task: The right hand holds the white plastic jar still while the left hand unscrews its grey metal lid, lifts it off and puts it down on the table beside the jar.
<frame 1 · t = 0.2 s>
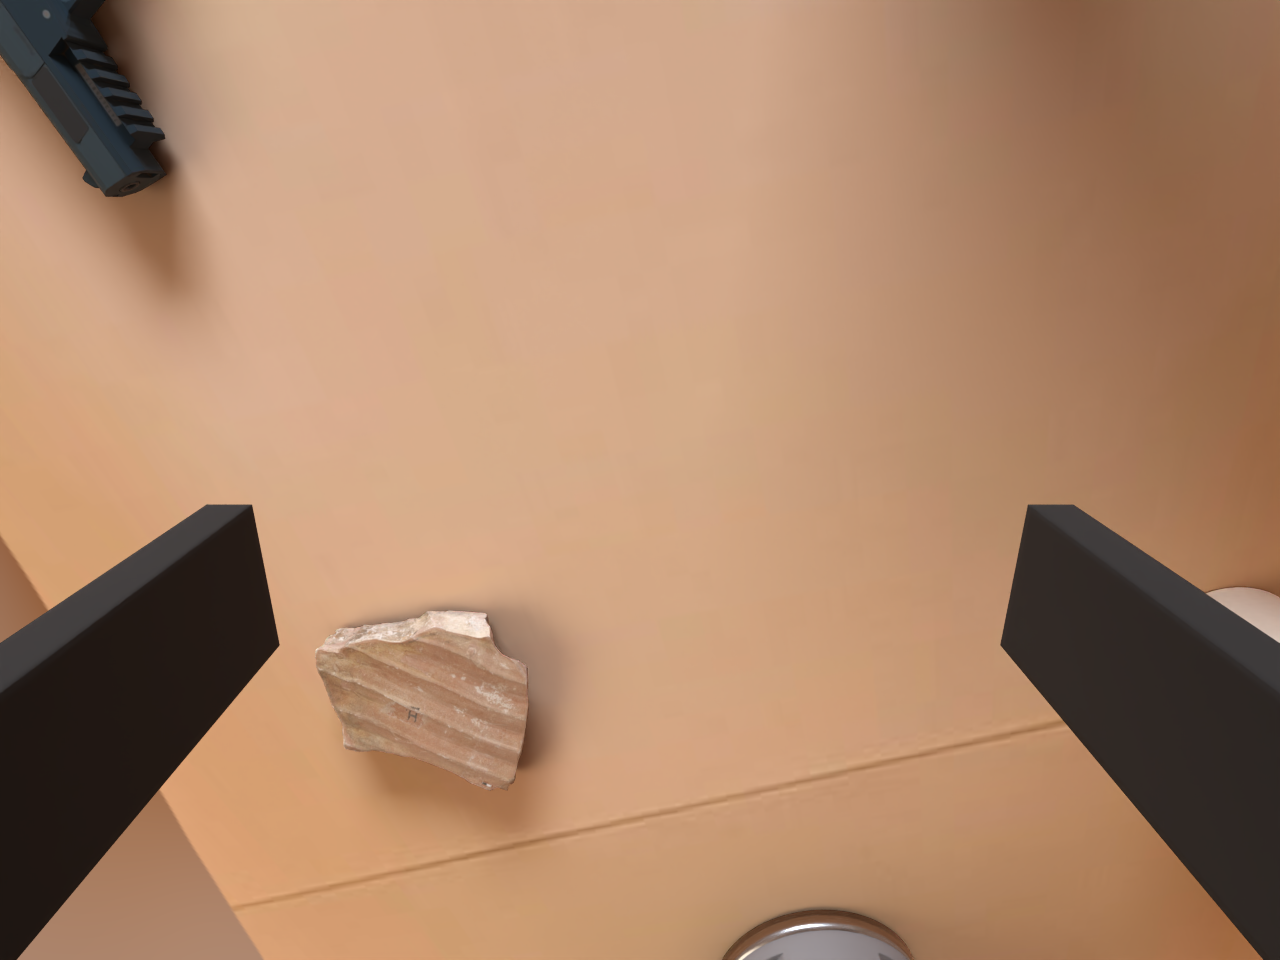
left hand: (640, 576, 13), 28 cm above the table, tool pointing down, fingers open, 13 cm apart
stone: (442, 695, 47), on the table
jar: (1217, 656, 46), on the table
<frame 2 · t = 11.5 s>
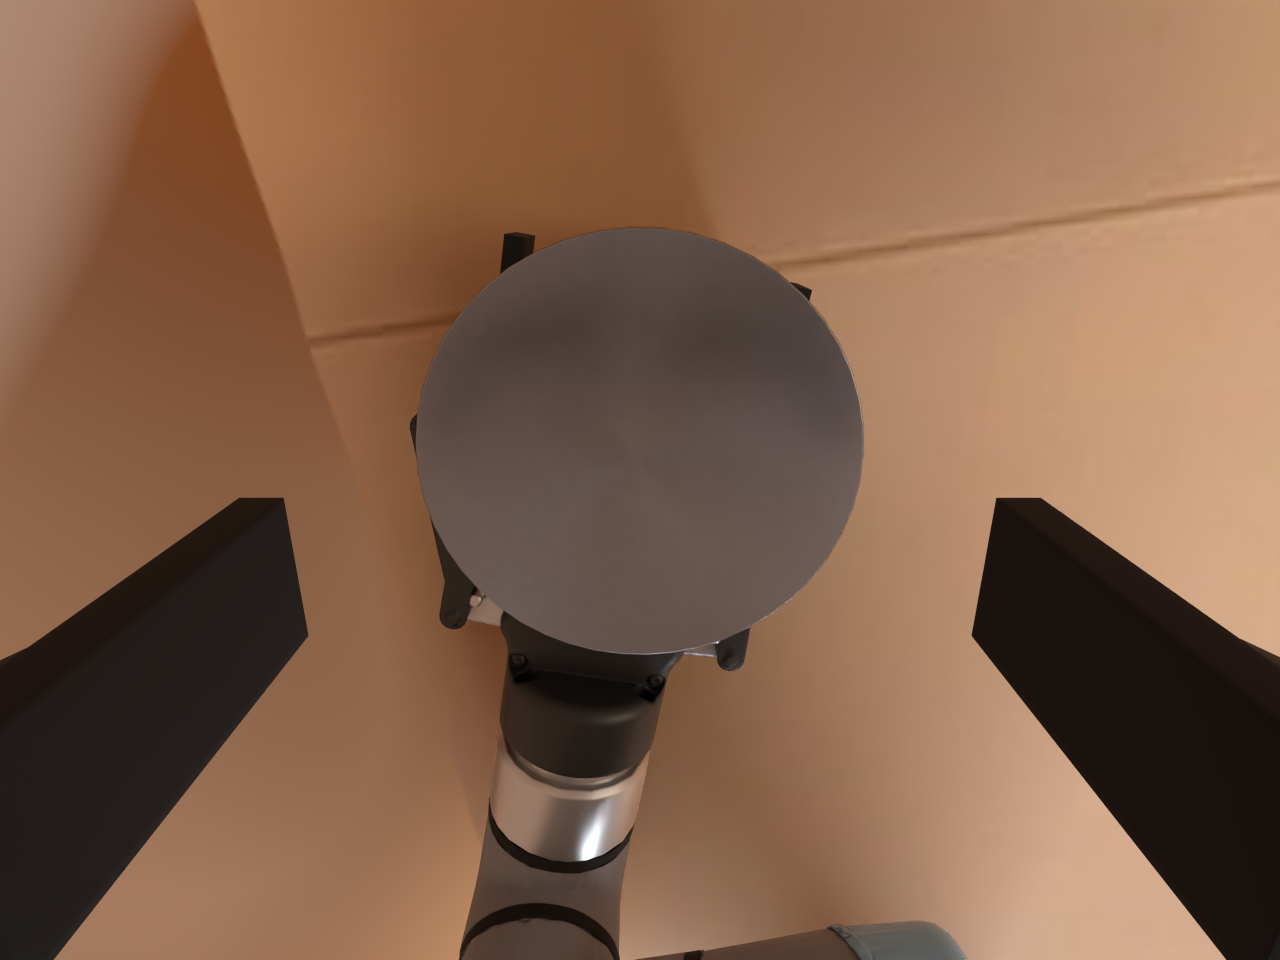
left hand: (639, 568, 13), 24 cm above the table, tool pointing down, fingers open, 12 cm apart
lid: (639, 459, 19), point 18 cm above the table, screwed on, not yet turned
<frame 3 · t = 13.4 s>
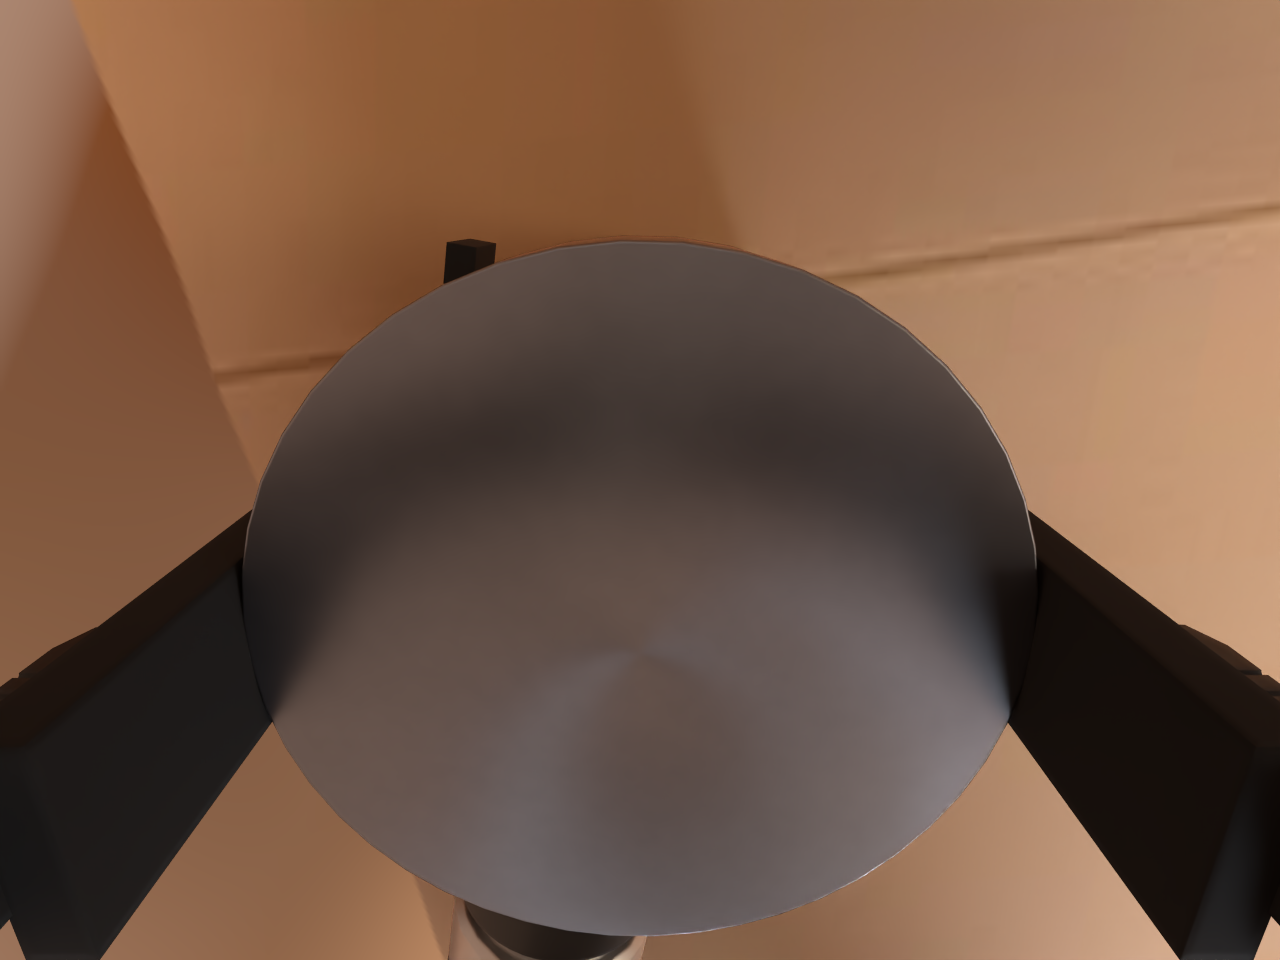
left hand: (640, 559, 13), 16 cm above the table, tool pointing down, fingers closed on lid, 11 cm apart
lid: (639, 639, 11), point 18 cm above the table, screwed on, not yet turned, touching left hand
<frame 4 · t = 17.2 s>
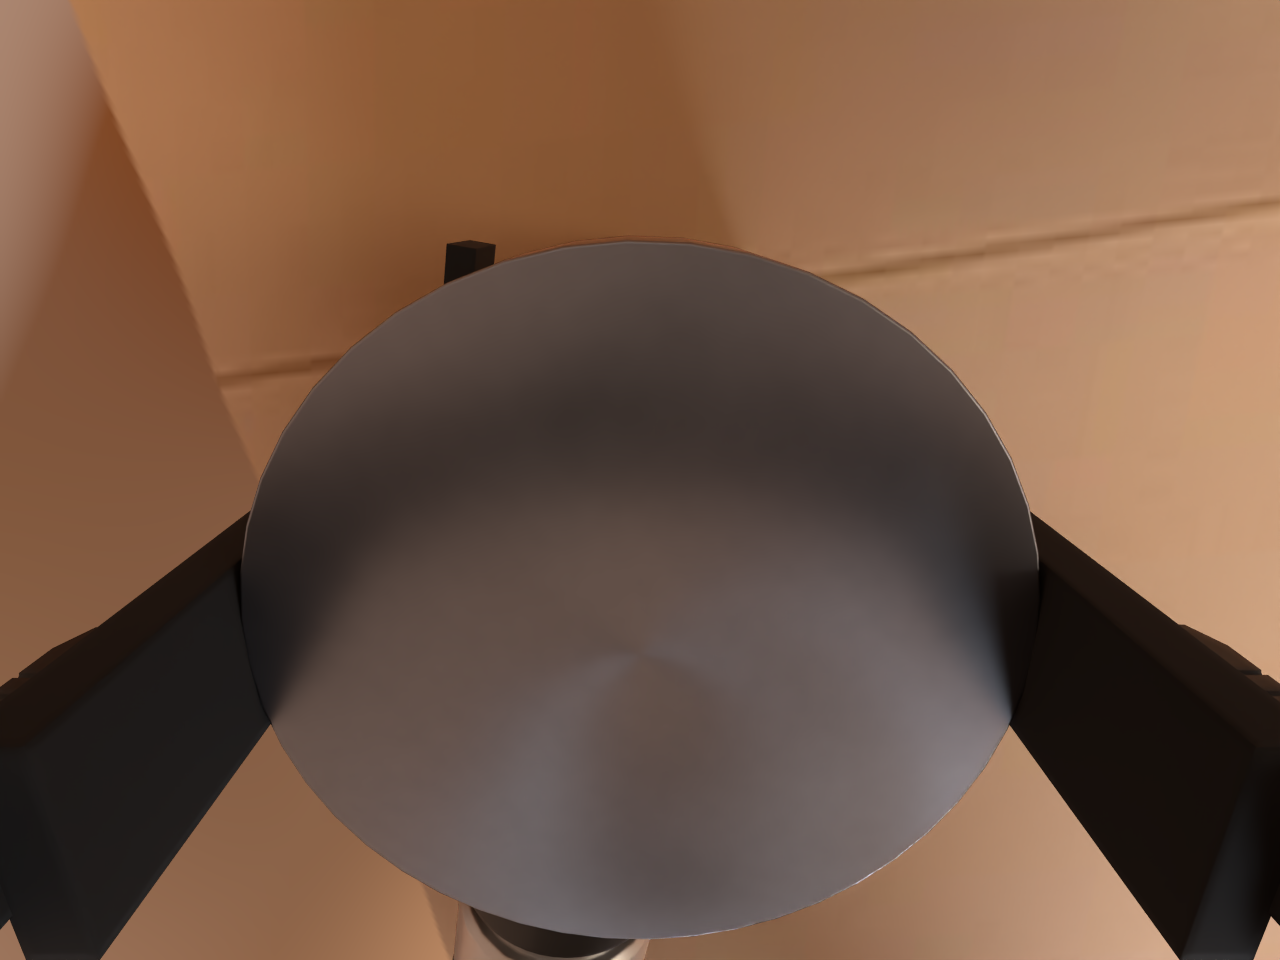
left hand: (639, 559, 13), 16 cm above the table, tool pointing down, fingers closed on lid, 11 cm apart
lid: (640, 641, 11), point 19 cm above the table, turned 149° so far, risen 0.2 cm, still on its thread, touching left hand
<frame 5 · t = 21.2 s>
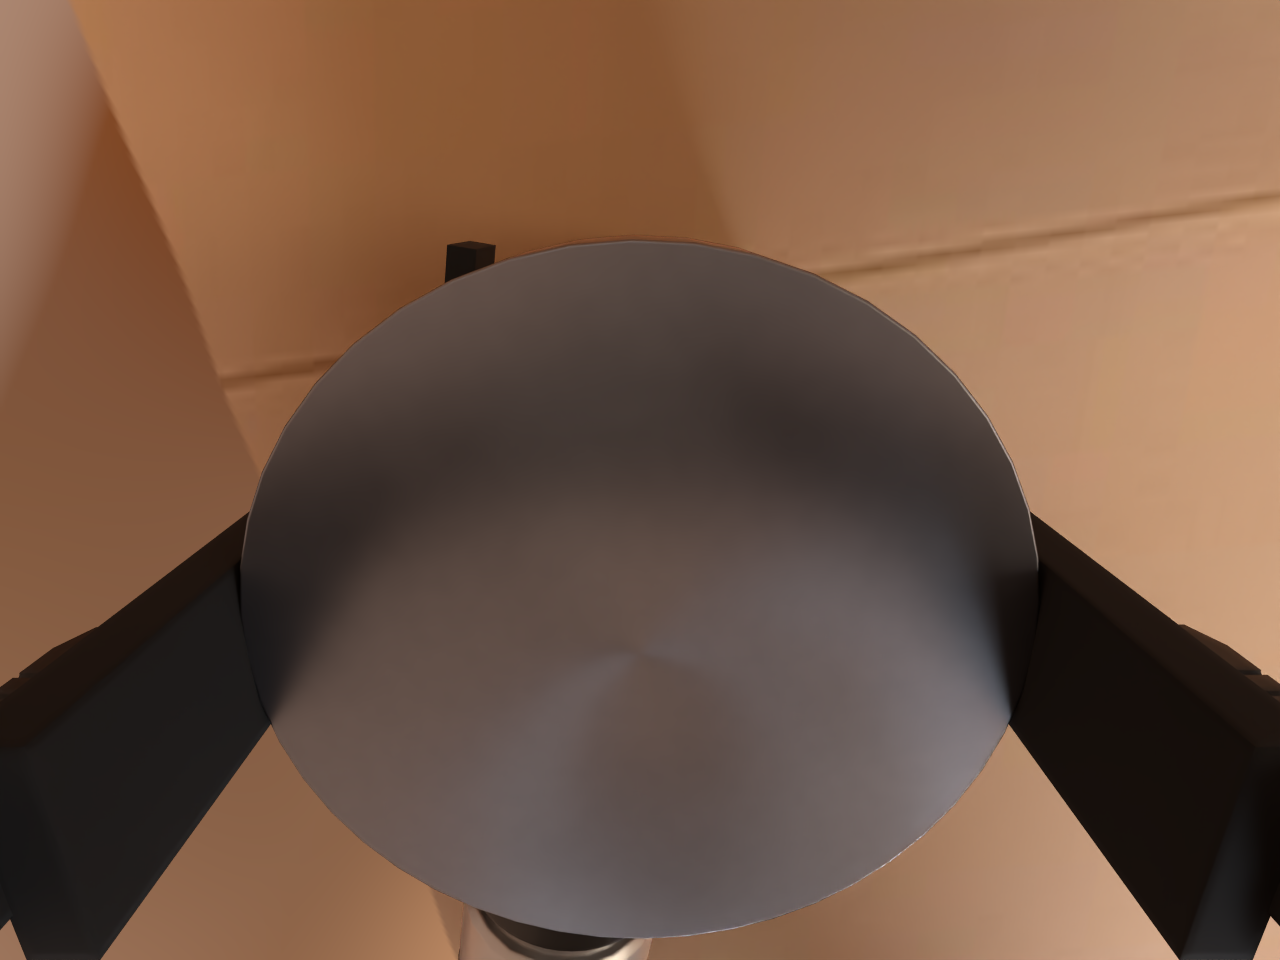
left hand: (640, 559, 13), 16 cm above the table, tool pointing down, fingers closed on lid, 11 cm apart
lid: (639, 640, 11), point 19 cm above the table, turned 298° so far, risen 0.4 cm, still on its thread, touching left hand
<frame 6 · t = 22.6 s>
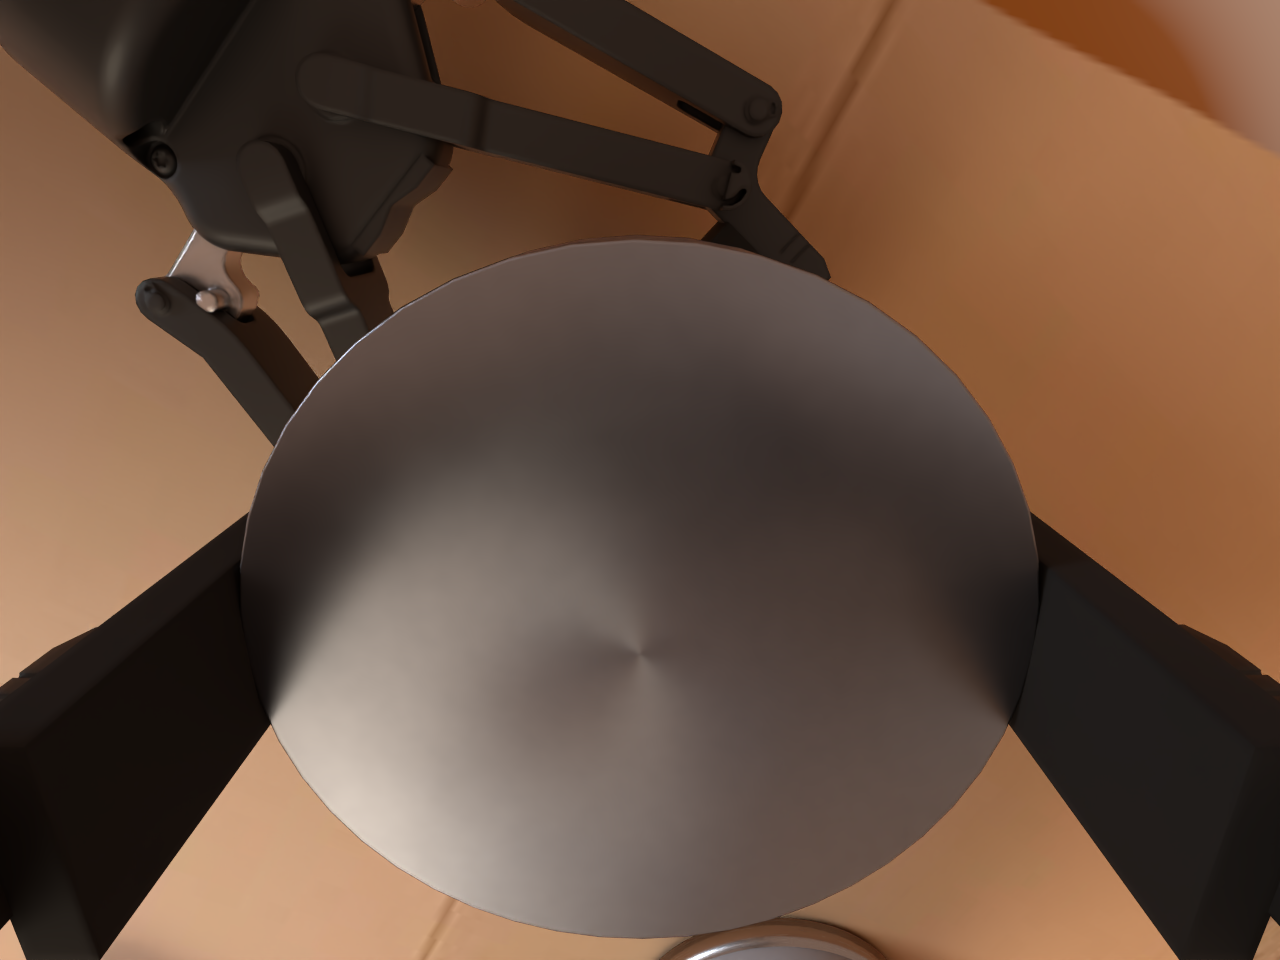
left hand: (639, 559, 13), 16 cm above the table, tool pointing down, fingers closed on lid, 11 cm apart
right hand: (738, 510, 23), fingers closed on jar, 10 cm apart
lid: (639, 640, 11), point 19 cm above the table, turned 422° so far, risen 0.6 cm, still on its thread, touching left hand
when the left hand's fingers open (0 cm above the table, at t = 29.1 s): lid drops 1 cm, point 1 cm above the table.
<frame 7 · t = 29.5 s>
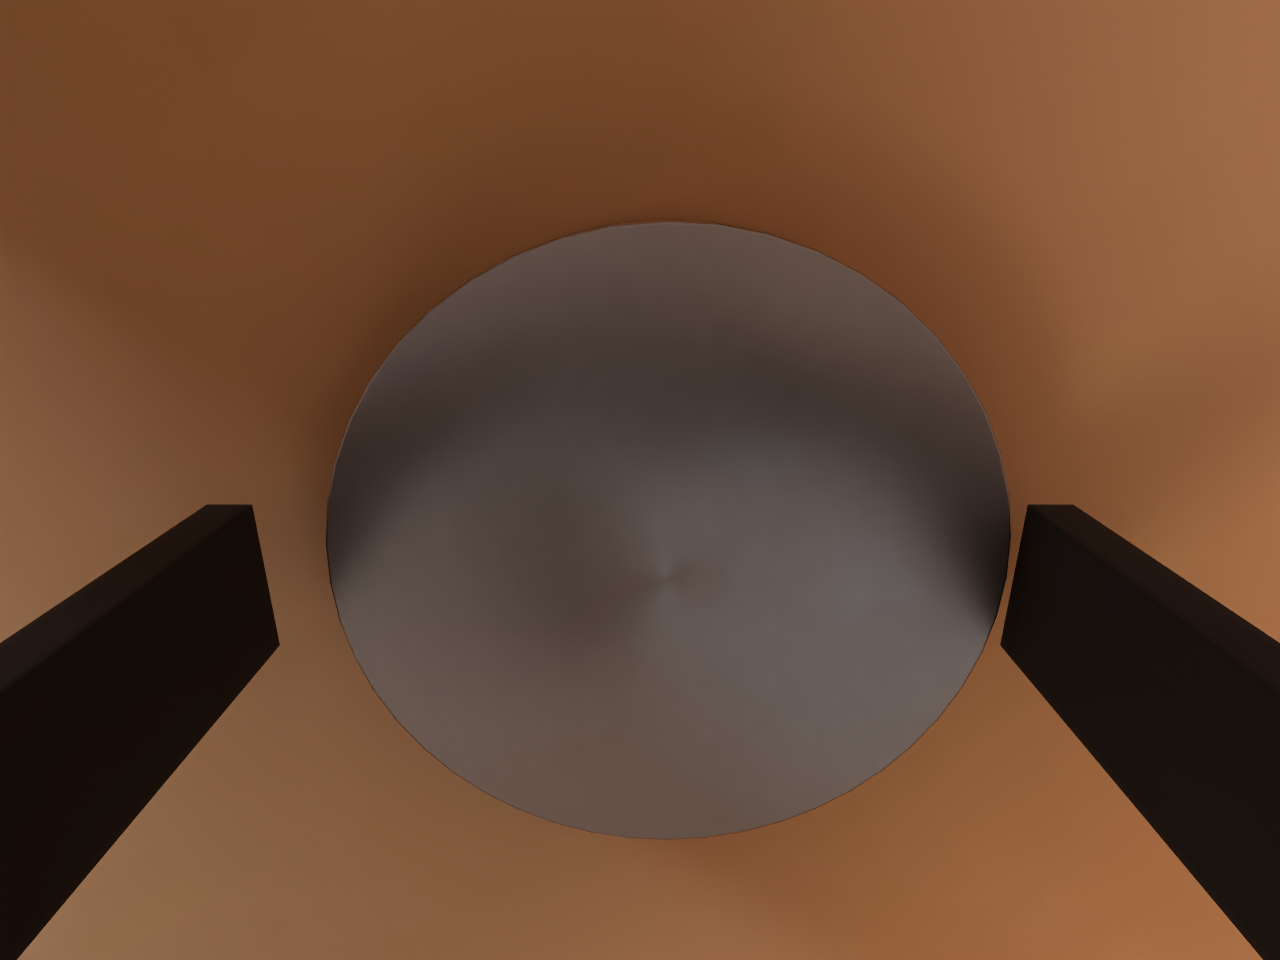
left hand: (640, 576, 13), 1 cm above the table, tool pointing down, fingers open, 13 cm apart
lid: (665, 570, 12), point 1 cm above the table, off its thread
when the right hand's fingers open (7 cm above the table, at t = 30.1 s): jar stays where it is, on the table.
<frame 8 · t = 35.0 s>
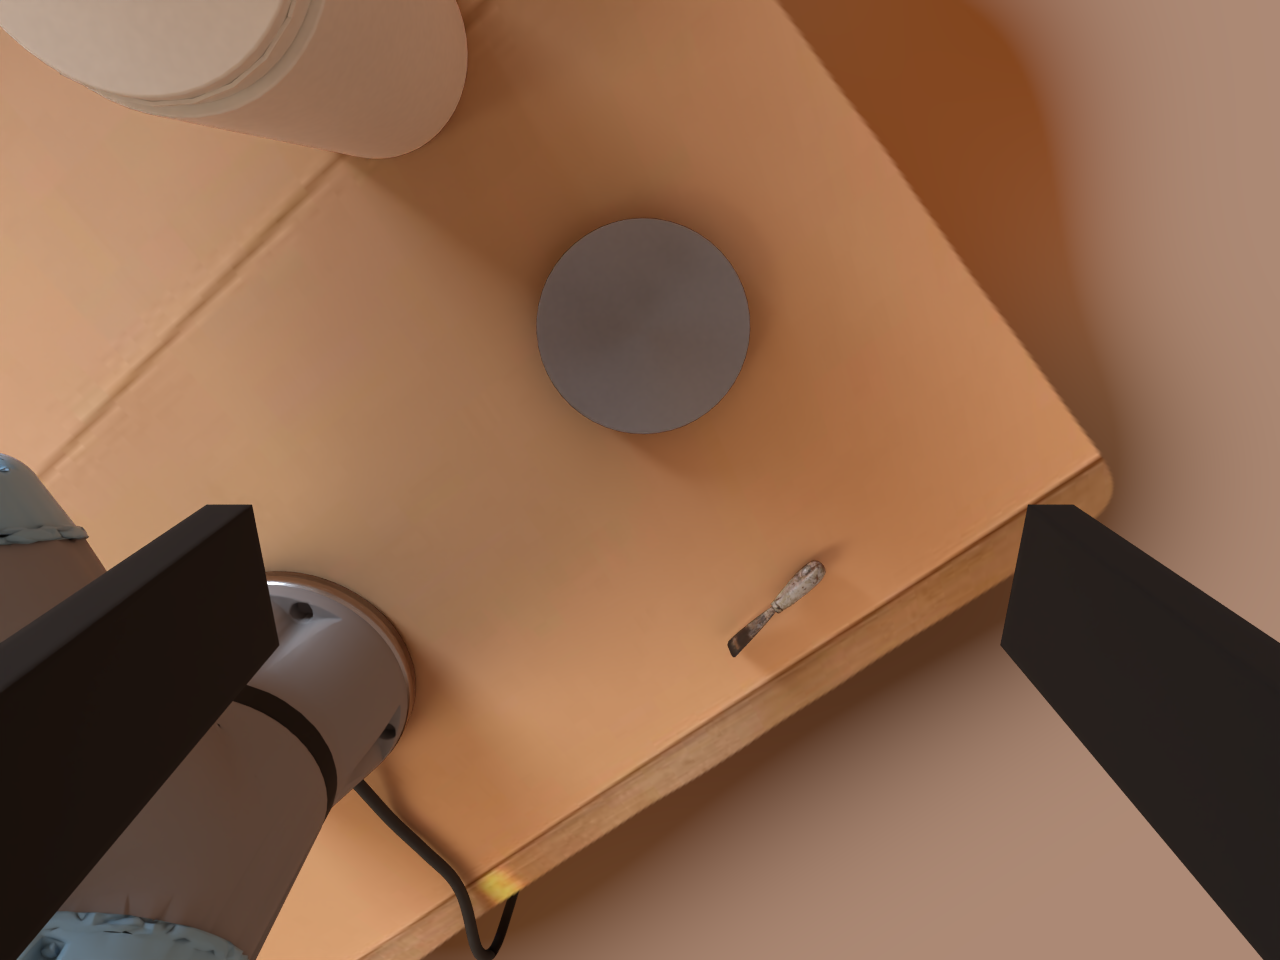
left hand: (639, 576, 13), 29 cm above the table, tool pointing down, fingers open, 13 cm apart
putty knife: (772, 601, 46), on the table
lid: (643, 330, 39), point 1 cm above the table, off its thread
jar: (365, 46, 35), on the table
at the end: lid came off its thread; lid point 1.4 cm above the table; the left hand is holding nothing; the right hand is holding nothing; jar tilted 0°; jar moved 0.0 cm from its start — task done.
